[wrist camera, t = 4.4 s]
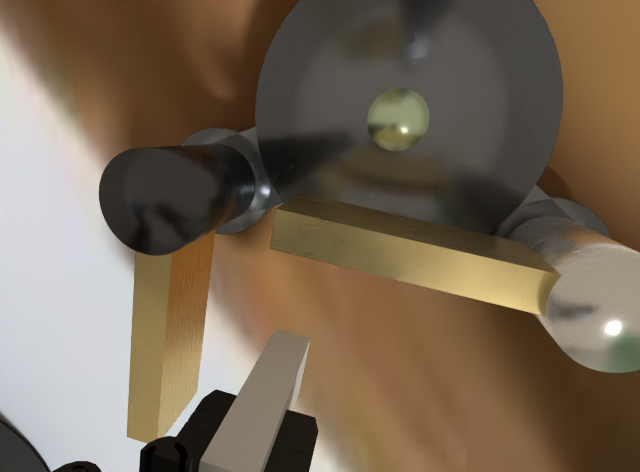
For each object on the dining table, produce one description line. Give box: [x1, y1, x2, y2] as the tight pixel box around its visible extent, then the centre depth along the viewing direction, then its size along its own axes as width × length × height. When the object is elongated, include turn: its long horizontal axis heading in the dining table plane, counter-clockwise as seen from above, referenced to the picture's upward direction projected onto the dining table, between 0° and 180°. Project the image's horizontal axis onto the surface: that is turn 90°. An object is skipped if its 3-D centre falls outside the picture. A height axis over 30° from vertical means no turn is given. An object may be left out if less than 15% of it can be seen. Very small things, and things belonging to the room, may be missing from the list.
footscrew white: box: [270, 193, 640, 373], centre depth 14 cm, size 12×4×6 cm, turn 80°
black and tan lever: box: [99, 144, 256, 443], centre depth 16 cm, size 12×4×6 cm, turn 170°
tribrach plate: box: [180, 0, 611, 239], centre depth 15 cm, size 20×18×2 cm
